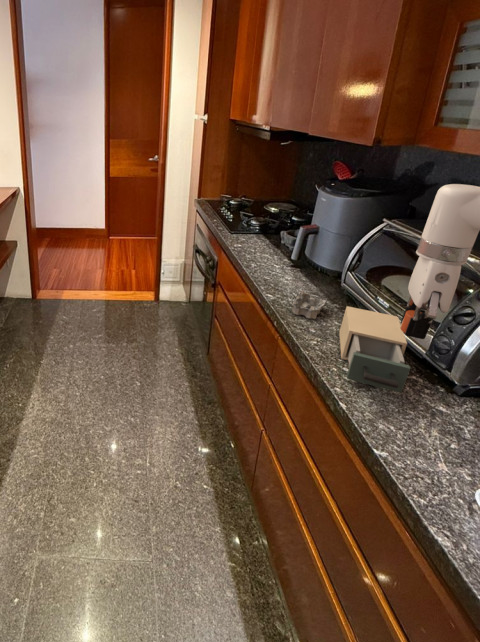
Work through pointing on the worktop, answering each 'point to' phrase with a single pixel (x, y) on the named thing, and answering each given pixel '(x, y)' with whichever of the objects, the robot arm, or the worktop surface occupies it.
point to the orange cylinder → (407, 319)
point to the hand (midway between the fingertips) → (412, 330)
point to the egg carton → (307, 305)
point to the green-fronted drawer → (377, 363)
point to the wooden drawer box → (370, 328)
